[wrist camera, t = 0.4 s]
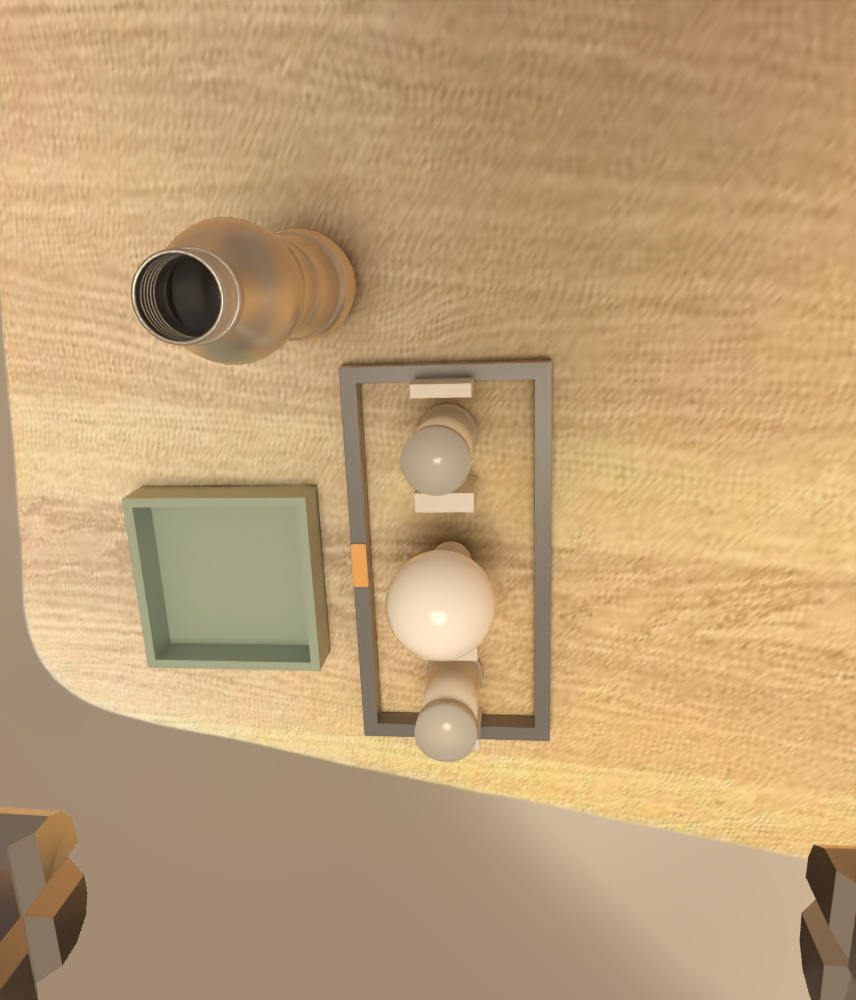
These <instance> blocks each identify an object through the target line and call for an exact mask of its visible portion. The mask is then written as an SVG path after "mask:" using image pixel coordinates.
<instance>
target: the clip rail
mask: <svg viewBox="0 0 856 1000" xmlns="http://www.w3.org/2000/svg"><path fill="white" fill-rule="evenodd" d="M339 379H340V393H341V408H342V422H343V436H344V450H345V464H346V478H347V492H348V507H349V521H350V535H351V544H350V545H351V559H352V573H353V587H354V591H355V606H356V620H357V634H358V648H359V662H360V676H361V690H362V705H363V719H364V733H365V736H396V737H415V734H414V733H415V726H416V721H417V717H418V714H419V713H398V712H381V699H380V683H379V668H378V652H377V636H376V620H375V604H374V589H373V573H372V557H371V541H370V525H369V509H368V494H367V478H366V462H365V446H364V430H363V414H362V399H361V383H398V382H411V383H410V385H409V389H410V398H455V397H472V394H473V391H474V389H475V381H484V380H526V379H534V517H535V716H512V715H482V707H478V713H477V725H478V730H477V740H476V744H475V747H474V749H473V750H480V739H496V740H529V741H550V583H551V415H552V361H551V359H542V360H504V361H466V362H428V363H390V364H352V365H342V366H341V367H339ZM414 499H415V512H474V510H475V504H476V499H477V476H467V478H466V480H465V481H464V483H463V484H462V485H461V486H460V487H459V488H458V489H457V490H455V491H454V492H451V493H449V494H446V495H442V496H431V495H426V494H423V493H421V492H419V491H417V490H416V491H415V493H414ZM478 652H479V646H478V647H477V648H476V649H475V650H473V651H472V652H470V653H469V654H467V655H465V656H463V657H460V658H458V659H454V660H452V661H478ZM422 660H428V659H425V658H422Z"/></svg>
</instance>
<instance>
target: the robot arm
mask: <svg viewBox="0 0 856 1000" xmlns="http://www.w3.org/2000/svg"><path fill="white" fill-rule="evenodd" d="M77 843H78V840H77V836H76V831H75V827H74V823H73V819H72V817H71V816H69V815H67V814H65V813H63V812H62V811H51V810H35V809H21V808H8V807H0V1000H38V988H37V982H39V981H40V980H42V979H43V978H45V977H46V976H48V975H49V974H51V973H52V972H54V971H55V970H57V969H58V968H60V967H61V966H62V965H63V964H64V962H65V960H66V959H67V958H68V956H69V954H70V953H71V951H72V950H73V948H74V946H75V945H76V943H77V941H78V938H79V935H80V932H81V928H82V925H83V923H84V920H85V917H86V906H87V888H86V882H85V876H84V874H83V873H82V872H81V871H80V869H79V868H78V867H77V866H76V865H75V864H74V863H73V862H72V861H71V860H70V858H69V856H70V854H71V852H72V851H73V849H74V848H75V846H76V844H77ZM806 879H807V881H808V883H809V885H810V888H811V890H812V892H813V894H814V896H815V898H816V900H815V901H814V902H813V903H812V904H810V906H809V907H807V908H806V909H805V910H804V911H803V912H802V915H801V928H800V929H801V930H800V949H801V958H802V967H803V973H804V977H805V980H806V984H807V988H808V992H809V995H810V998H811V1000H856V846H838V845H813V847H812V849H811V852H810V854H809V856H808V863H807V871H806Z"/></svg>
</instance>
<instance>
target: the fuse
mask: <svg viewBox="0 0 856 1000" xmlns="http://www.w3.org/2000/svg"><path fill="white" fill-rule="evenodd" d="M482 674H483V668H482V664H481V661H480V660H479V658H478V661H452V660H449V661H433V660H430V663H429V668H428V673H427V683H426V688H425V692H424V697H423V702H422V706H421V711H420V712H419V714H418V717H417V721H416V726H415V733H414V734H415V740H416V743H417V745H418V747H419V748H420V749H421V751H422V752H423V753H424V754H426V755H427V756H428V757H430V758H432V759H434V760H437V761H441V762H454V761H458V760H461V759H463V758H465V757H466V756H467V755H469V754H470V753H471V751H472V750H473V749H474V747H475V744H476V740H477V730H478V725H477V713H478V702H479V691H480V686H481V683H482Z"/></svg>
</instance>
